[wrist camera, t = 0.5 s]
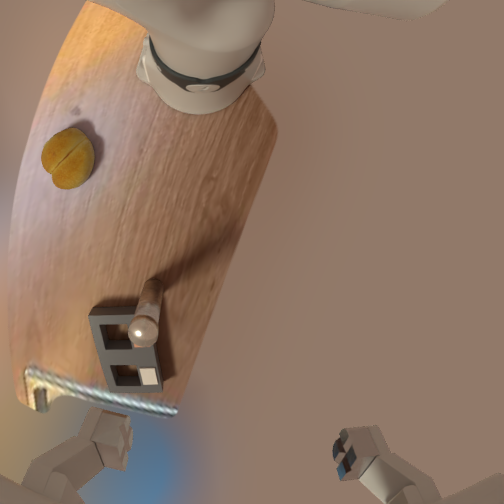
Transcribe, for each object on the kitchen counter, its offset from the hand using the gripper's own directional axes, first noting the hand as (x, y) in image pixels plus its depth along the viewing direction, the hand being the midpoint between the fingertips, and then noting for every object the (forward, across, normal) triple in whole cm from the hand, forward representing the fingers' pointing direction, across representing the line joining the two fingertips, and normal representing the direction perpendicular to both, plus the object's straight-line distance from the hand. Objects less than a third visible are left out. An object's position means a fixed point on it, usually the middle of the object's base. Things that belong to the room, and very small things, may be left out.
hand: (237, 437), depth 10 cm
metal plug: (+36, +11, +13) cm, 40 cm away
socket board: (+34, +15, +24) cm, 45 cm away
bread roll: (+36, +26, -7) cm, 45 cm away
